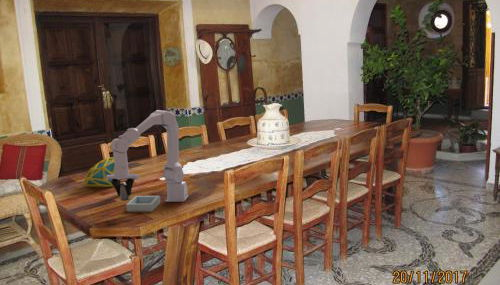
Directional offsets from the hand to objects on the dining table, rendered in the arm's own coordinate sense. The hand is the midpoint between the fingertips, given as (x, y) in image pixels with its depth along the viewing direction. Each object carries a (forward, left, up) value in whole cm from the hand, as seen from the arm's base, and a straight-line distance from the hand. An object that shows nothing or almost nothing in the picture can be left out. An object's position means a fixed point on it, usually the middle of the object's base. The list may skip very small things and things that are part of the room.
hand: (124, 195), depth 207 cm
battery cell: (0, 0, -2) cm, 2 cm away
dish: (-5, -9, -9) cm, 14 cm away
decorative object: (+29, -43, -9) cm, 53 cm away
